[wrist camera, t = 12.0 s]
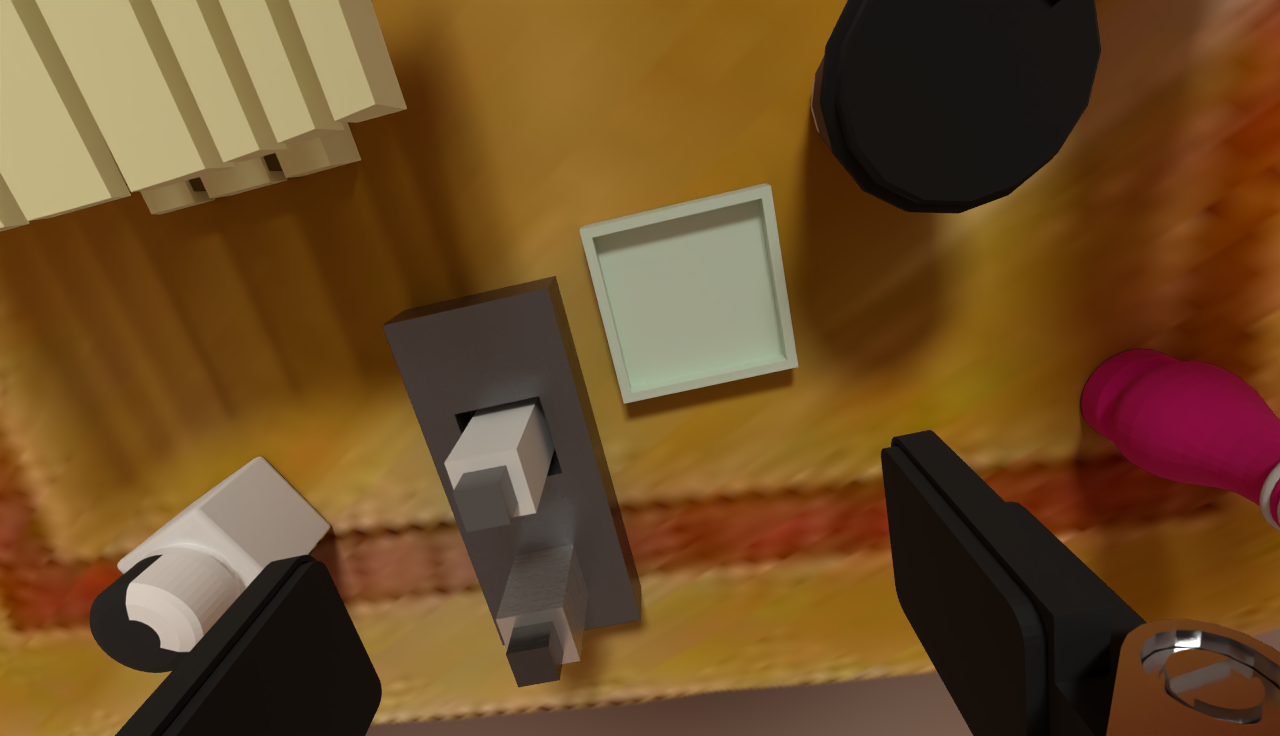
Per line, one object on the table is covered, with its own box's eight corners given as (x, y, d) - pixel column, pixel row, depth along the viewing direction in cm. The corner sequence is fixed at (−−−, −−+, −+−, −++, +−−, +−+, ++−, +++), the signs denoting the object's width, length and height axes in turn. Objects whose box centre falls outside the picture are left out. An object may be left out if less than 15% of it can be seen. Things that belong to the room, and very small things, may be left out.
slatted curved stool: (397, -213, 31) (112, -630, 14) (498, 123, 36) (375, 104, 20) (-131, -43, 34) (-901, -231, 17) (34, 248, 39) (-429, 328, 22)
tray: (582, 226, 38) (579, 229, 36) (764, 183, 37) (770, 185, 36) (624, 393, 42) (624, 403, 40) (791, 357, 41) (798, 366, 39)
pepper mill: (1208, 373, 41) (1684, 564, 22) (1129, 459, 43) (1504, 699, 25) (1125, 321, 40) (1555, 477, 21) (1049, 412, 42) (1377, 627, 23)
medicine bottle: (264, 572, 47) (143, 709, 35) (191, 503, 45) (38, 625, 33) (334, 525, 45) (232, 652, 34) (262, 452, 43) (128, 560, 32)
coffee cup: (858, -60, 33) (971, -166, 22) (1005, 71, 35) (1176, 36, 24) (731, 121, 36) (772, 110, 25) (873, 232, 38) (970, 269, 27)
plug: (480, 404, 41) (432, 481, 32) (539, 392, 41) (508, 467, 31) (497, 458, 42) (456, 547, 33) (554, 447, 42) (530, 534, 33)
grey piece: (403, 310, 40) (315, 372, 29) (555, 276, 39) (522, 326, 28) (512, 610, 48) (474, 747, 37) (640, 586, 47) (640, 718, 36)
